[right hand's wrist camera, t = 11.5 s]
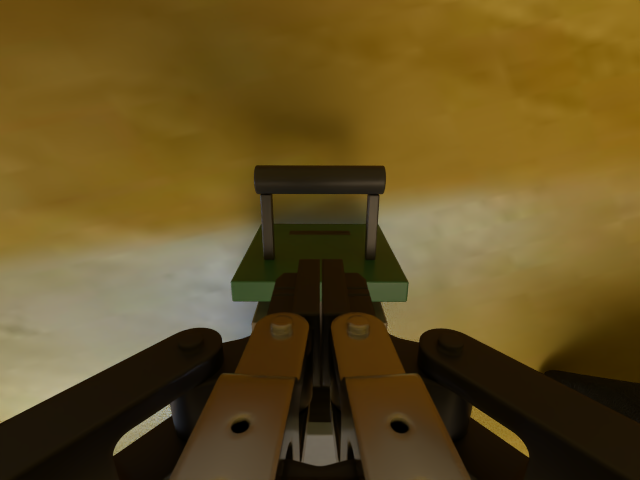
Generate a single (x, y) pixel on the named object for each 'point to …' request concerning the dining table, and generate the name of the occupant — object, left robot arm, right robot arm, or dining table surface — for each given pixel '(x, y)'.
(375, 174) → the drawer
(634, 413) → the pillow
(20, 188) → the dining table surface
